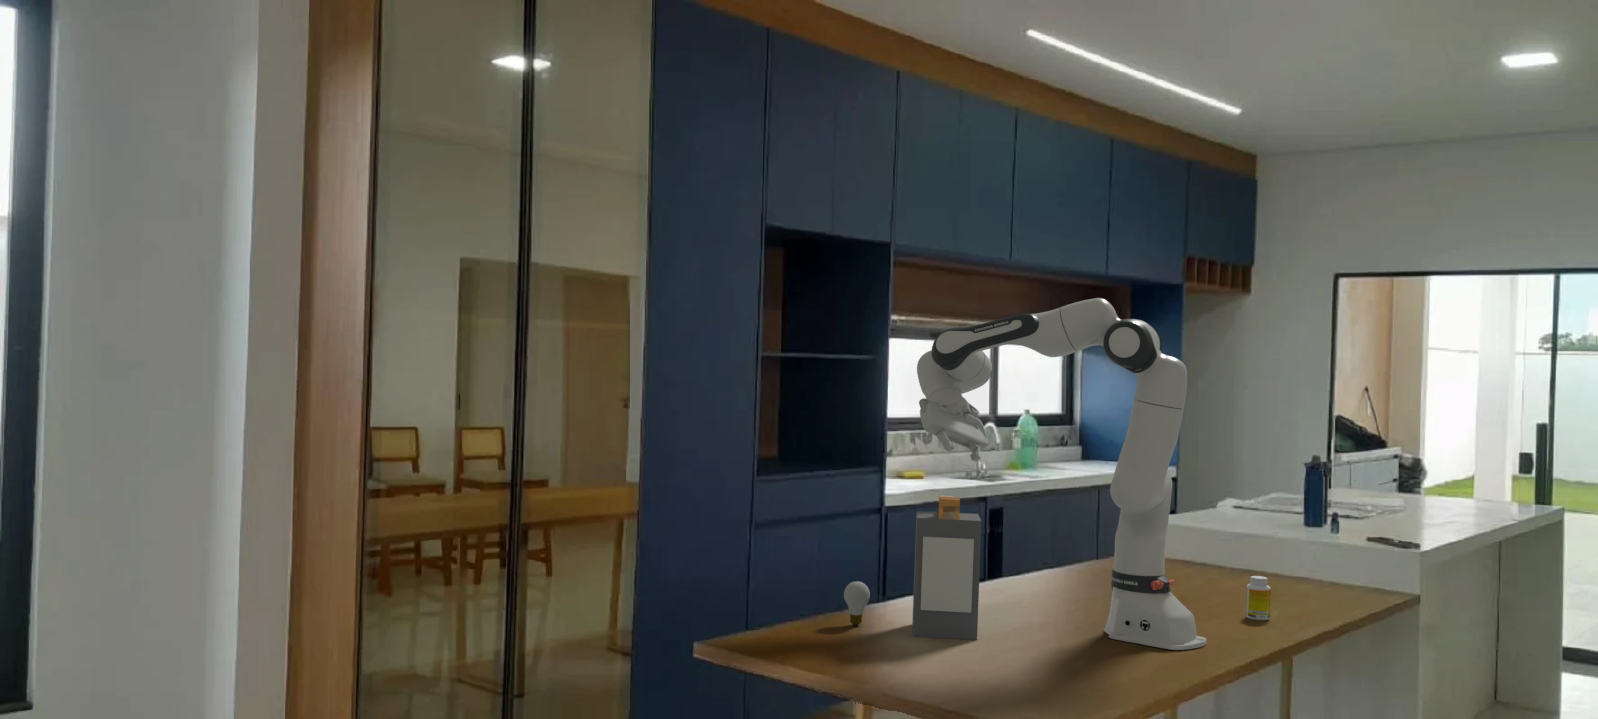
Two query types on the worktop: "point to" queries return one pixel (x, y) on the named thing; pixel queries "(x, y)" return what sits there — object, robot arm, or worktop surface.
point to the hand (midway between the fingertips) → (963, 454)
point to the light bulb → (856, 600)
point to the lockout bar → (949, 507)
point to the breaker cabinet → (946, 576)
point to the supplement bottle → (1258, 599)
